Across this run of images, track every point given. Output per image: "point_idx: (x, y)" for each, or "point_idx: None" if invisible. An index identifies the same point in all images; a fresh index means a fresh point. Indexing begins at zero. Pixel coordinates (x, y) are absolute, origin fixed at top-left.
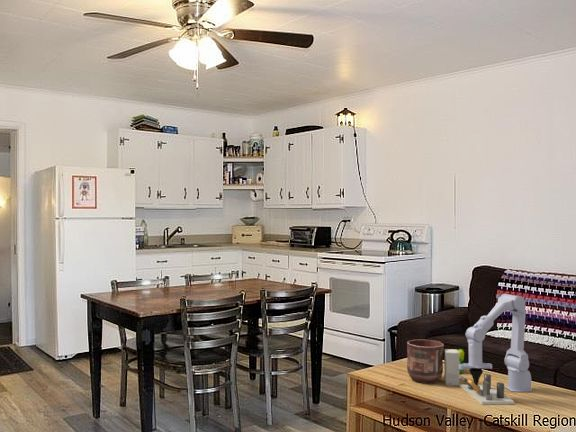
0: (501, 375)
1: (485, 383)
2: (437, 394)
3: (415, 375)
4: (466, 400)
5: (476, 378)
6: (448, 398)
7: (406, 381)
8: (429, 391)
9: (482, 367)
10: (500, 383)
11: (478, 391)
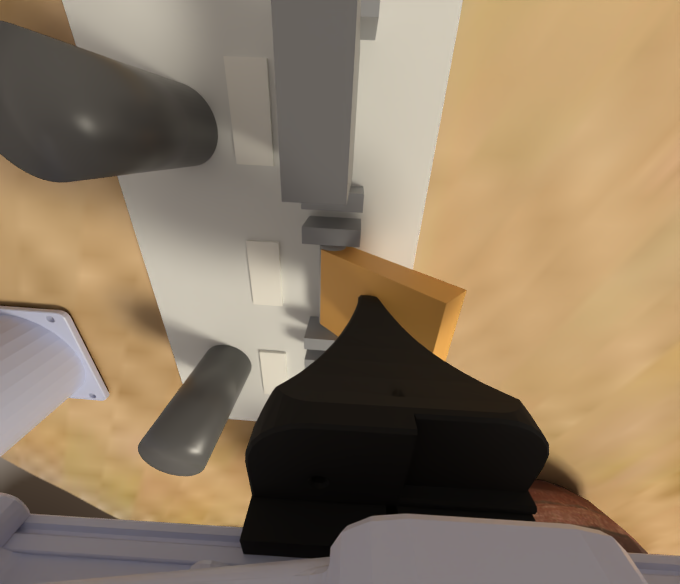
0: (106, 505)
1: (356, 44)
2: (657, 318)
3: (636, 542)
4: (535, 143)
5: (391, 335)
6: (661, 217)
7: (624, 507)
8: (654, 376)
9: (218, 568)
10: (27, 106)
11: (361, 250)
